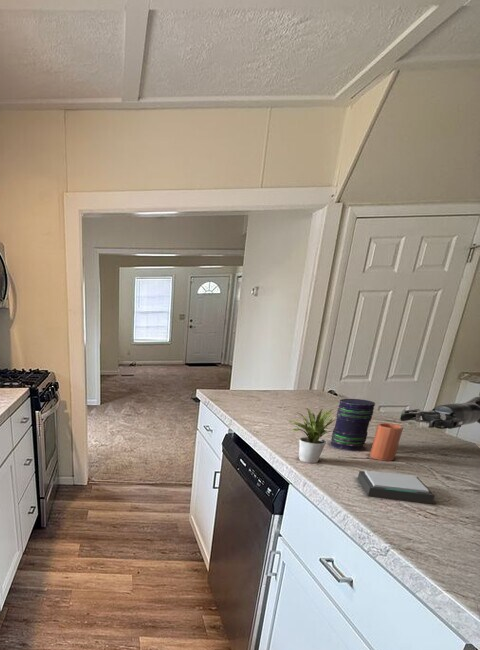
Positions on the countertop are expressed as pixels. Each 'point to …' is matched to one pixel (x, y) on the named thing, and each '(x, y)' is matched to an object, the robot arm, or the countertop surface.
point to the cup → (386, 441)
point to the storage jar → (352, 424)
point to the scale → (395, 486)
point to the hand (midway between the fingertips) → (416, 420)
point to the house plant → (312, 436)
